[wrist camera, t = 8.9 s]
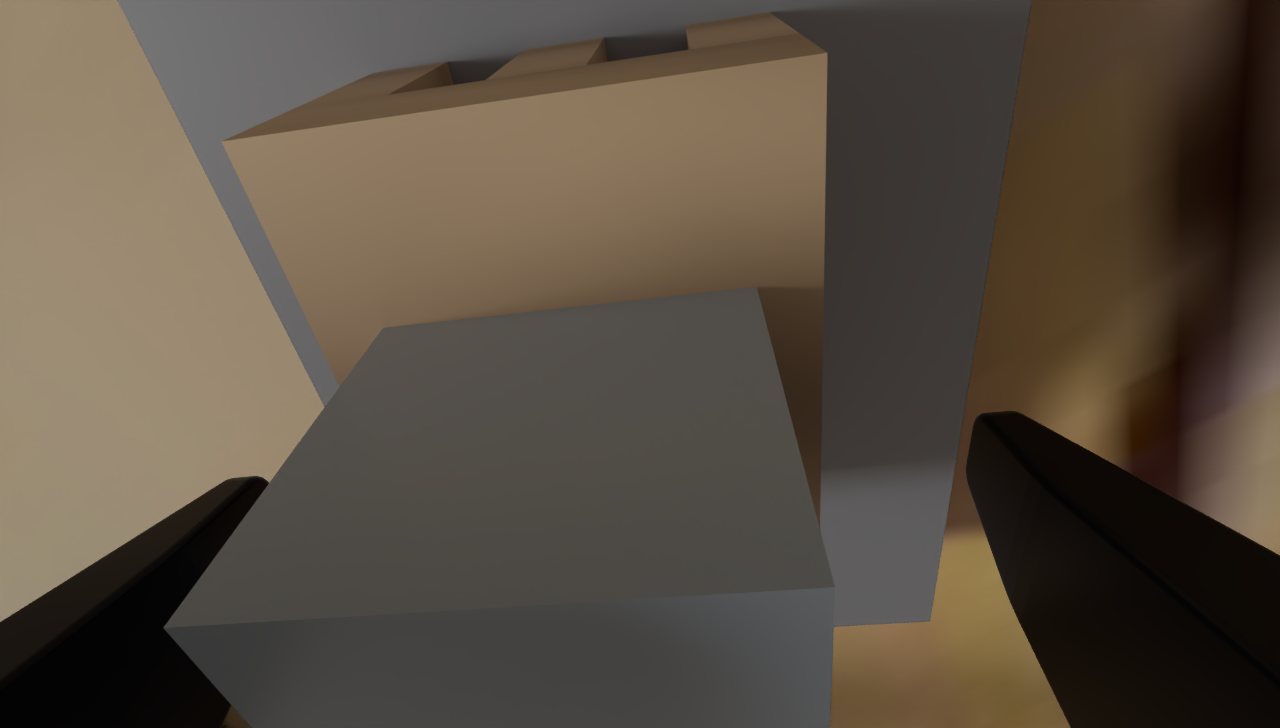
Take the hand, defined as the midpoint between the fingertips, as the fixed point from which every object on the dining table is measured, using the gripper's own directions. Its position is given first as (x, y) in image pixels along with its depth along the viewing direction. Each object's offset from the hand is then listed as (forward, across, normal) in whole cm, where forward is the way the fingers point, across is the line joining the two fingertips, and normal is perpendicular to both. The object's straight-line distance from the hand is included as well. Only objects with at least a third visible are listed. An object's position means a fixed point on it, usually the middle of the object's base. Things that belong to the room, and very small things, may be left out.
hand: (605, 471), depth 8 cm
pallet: (+4, 0, 0) cm, 5 cm away
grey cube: (0, 0, 0) cm, 1 cm away
